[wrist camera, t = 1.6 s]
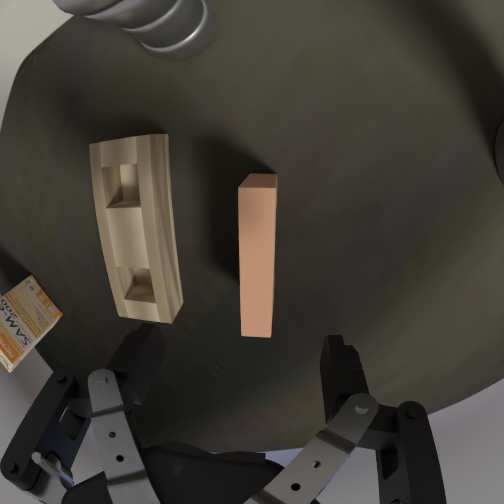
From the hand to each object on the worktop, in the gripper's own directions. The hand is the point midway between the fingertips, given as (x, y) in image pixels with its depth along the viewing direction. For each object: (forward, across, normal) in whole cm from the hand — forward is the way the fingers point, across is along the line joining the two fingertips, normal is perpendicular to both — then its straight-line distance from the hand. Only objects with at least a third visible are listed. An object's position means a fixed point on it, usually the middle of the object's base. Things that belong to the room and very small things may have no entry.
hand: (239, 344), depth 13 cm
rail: (+15, +12, -1) cm, 19 cm away
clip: (+15, 0, 0) cm, 15 cm away
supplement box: (+16, +34, +11) cm, 39 cm away
